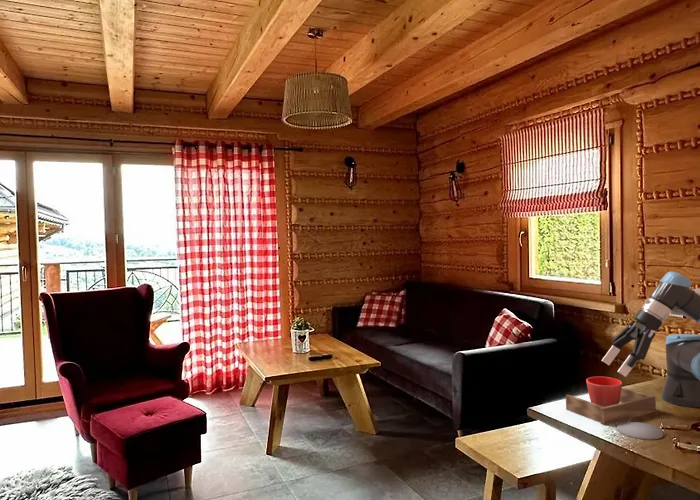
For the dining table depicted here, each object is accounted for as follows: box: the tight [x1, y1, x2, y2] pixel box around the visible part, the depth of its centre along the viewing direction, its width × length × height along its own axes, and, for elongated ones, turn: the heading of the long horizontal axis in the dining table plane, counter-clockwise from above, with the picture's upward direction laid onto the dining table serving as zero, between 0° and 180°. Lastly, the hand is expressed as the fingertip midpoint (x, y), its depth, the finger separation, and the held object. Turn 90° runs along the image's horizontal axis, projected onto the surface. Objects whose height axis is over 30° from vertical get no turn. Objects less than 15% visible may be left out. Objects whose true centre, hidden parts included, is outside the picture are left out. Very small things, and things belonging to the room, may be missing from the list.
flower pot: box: [585, 376, 623, 407], centre depth 170 cm, size 11×11×10 cm
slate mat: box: [616, 421, 664, 441], centre depth 151 cm, size 12×12×1 cm
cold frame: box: [565, 386, 657, 426], centre depth 169 cm, size 16×24×5 cm, turn 113°
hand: (612, 368), depth 164 cm, fingers open, 13 cm apart
